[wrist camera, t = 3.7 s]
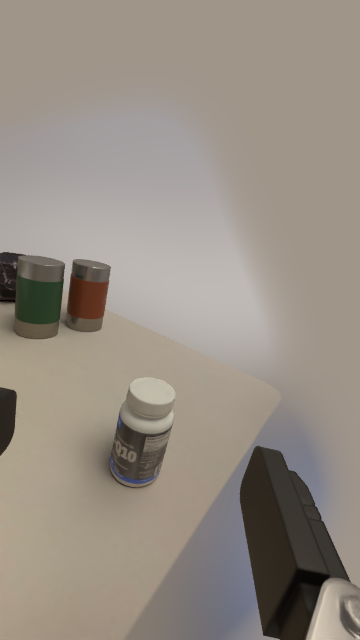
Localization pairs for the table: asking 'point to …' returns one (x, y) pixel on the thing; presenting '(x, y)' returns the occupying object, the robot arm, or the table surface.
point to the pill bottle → (142, 432)
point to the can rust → (87, 295)
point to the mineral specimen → (8, 275)
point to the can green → (38, 296)
